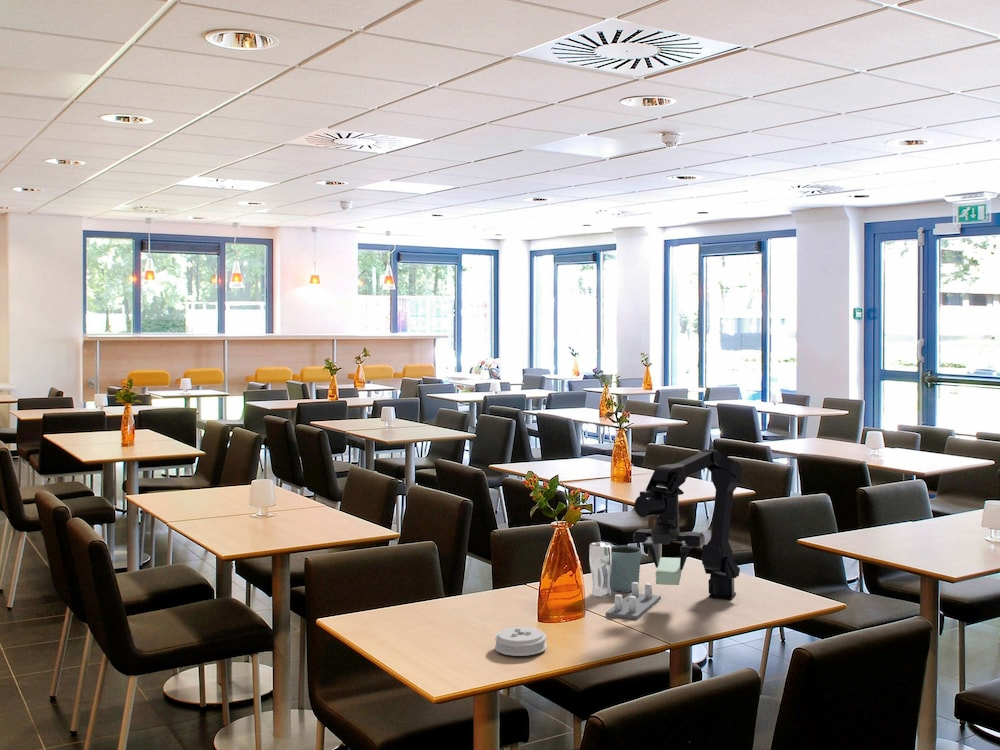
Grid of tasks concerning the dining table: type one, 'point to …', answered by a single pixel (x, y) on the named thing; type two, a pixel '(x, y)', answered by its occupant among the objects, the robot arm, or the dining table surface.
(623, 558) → the teal cylinder
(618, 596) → the peg stand
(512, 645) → the lid
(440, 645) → the dining table surface
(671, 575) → the plank
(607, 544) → the beer glass
